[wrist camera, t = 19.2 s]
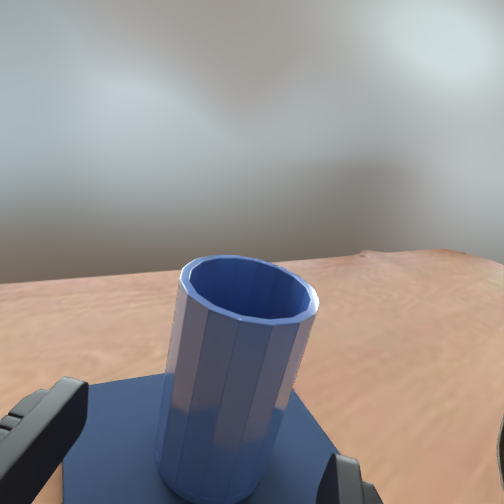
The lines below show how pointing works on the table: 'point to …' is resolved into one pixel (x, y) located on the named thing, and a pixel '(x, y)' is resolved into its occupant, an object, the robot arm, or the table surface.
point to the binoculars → (501, 452)
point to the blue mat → (143, 443)
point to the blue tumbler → (229, 374)
